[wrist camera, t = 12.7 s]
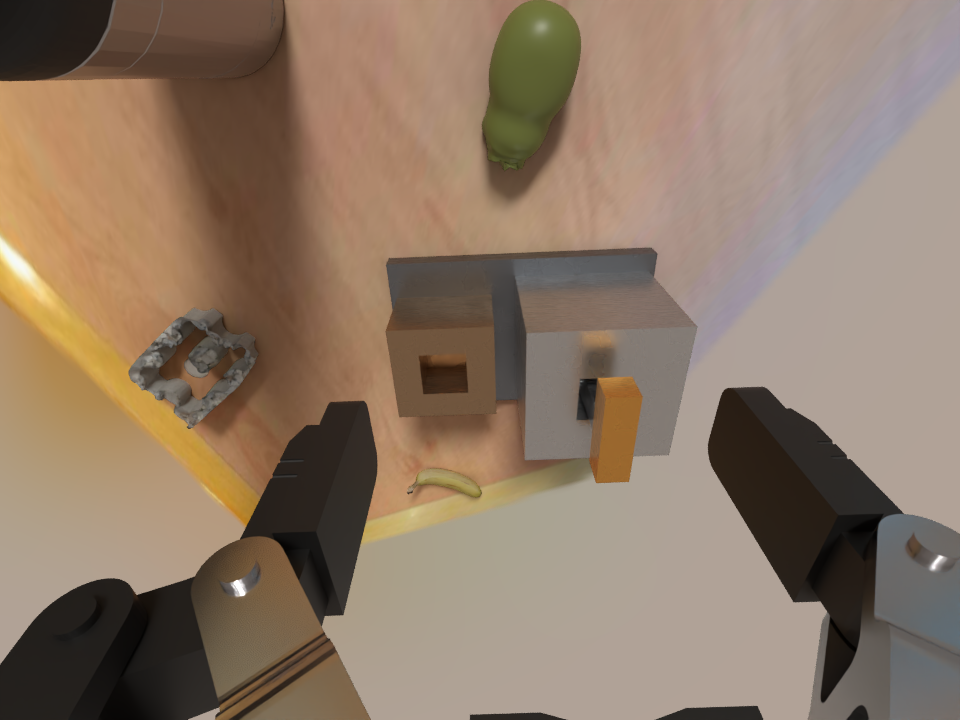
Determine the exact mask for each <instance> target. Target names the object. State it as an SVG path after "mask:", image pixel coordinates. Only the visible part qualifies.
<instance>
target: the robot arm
mask: <svg viewBox="0 0 960 720" xmlns="http://www.w3.org/2000/svg"><path fill="white" fill-rule="evenodd" d="M283 17H284V7H283V0H0V81H35V80H93V79H166V78H235V77H242V76H245V75H248V74H252V73H253V72H255V71H256V70H258V69H259V68H261V67H263V66H264V64H265V63H266V62H267V61H268V60H269V59H270V58H271V57H272V55H273V53H274V51H275V49H276V47H277V46H278V44H279V40H280V37H281V33H282V29H283ZM708 454H709V460H710V463H711V466H712V468H713V470H714V472H715V473H716V475H717V476H718V478H719V480H720V481H721V483H722V485H723V486H724V488H725V490H726V491H727V493H728V495H729V496H730V498H731V500H732V501H733V503H734V504H735V506H736V508H737V509H738V511H739V513H740V514H741V516H742V518H743V519H744V521H745V523H746V524H747V526H748V528H749V529H750V531H751V533H752V534H753V535H754V538H755V539H756V541H757V542H758V544H759V546H760V547H761V549H762V551H763V552H764V554H765V556H766V557H767V559H768V561H769V562H770V564H771V566H772V567H773V569H774V571H775V572H776V574H777V575H778V577H779V579H780V580H781V582H782V584H783V585H784V587H785V589H786V590H787V592H788V594H789V595H790V597H791V599H792V600H793V602H817V601H821V603H822V604H823V606H824V607H825V609H826V610H827V614H826V615H825V617H824V619H823V621H822V625H821V633H820V640H819V647H818V655H817V662H816V670H815V678H814V685H813V692H812V700H811V707H810V713H809V717H808V720H960V534H959V533H957V532H956V531H954V530H952V529H950V528H949V527H946V526H944V525H942V524H940V523H937V522H935V521H933V520H930V519H927V518H923V517H919V516H915V515H908V514H904V513H902V511H901V510H900V509H899V508H898V507H897V506H896V505H895V504H894V503H893V502H892V501H891V500H890V499H889V498H888V497H887V496H886V495H885V494H884V493H883V492H882V491H881V490H880V489H879V488H878V487H877V486H876V485H875V484H874V483H873V482H872V481H871V480H870V479H869V478H868V477H867V476H866V475H865V473H863V471H861V470H860V468H859V467H858V466H856V464H855V463H854V462H853V461H852V460H851V459H847V455H846V454H845V453H844V452H843V451H842V450H841V449H840V448H839V447H838V446H837V445H836V444H833V443H832V440H831V439H830V438H829V437H828V436H827V435H826V434H825V433H824V432H823V431H822V430H821V429H820V428H819V427H818V426H817V424H815V423H814V422H812V421H811V420H809V419H807V418H806V417H804V416H803V415H801V414H799V413H797V412H796V411H794V410H793V409H791V408H790V409H786V408H785V407H784V406H783V405H782V404H781V403H780V402H779V400H778V399H777V398H776V397H775V396H774V395H773V394H772V393H771V392H770V391H769V390H768V389H767V388H765V387H744V388H727V389H725V390H724V392H723V393H722V395H721V398H720V401H719V405H718V409H717V412H716V416H715V420H714V424H713V427H712V431H711V434H710V438H709V443H708ZM376 477H377V452H376V447H375V442H374V437H373V432H372V427H371V422H370V417H369V412H368V408H367V404H366V403H365V401H348V402H331V403H329V405H328V406H327V409H326V411H325V413H324V415H323V418H322V420H321V422H320V425H307V426H305V427H304V428H303V429H302V430H301V431H300V432H299V433H298V434H297V435H296V436H295V437H294V438H293V439H291V440H290V441H289V443H288V445H287V447H286V449H285V451H284V453H283V455H282V457H281V459H280V463H278V465H277V467H276V469H275V471H274V473H273V478H272V479H270V481H269V483H268V485H267V487H266V489H265V491H264V493H263V495H262V497H261V499H260V501H259V503H258V505H257V507H256V509H255V511H254V513H253V515H252V517H251V519H250V521H249V523H248V525H247V527H246V529H245V531H244V533H243V535H242V537H241V538H240V540H237V541H235V542H232V543H230V544H228V545H227V546H225V547H223V548H221V549H220V550H218V551H217V552H216V553H214V554H213V555H212V556H211V557H210V558H209V559H208V560H207V561H206V562H205V563H204V564H203V565H202V566H201V568H200V569H199V571H198V572H197V574H196V576H195V577H192V578H190V579H187V580H184V581H181V582H177V583H174V584H171V585H168V586H165V587H162V588H158V589H155V590H152V591H149V592H145V593H142V594H139V595H136V594H135V592H134V591H133V589H132V588H131V587H130V585H129V584H128V583H126V582H125V581H122V580H120V579H114V578H113V579H101V580H96V581H93V582H89V583H87V584H84V585H82V586H79V587H77V588H75V589H73V590H71V591H70V592H68V593H66V594H65V595H63V596H61V597H60V598H58V599H57V600H56V601H54V602H53V603H52V604H50V605H49V606H48V607H47V608H46V609H45V610H43V611H42V612H41V613H40V614H39V615H38V616H37V617H36V619H35V620H34V621H33V622H32V623H31V625H30V626H29V627H28V628H27V630H26V631H25V632H24V634H23V635H22V636H21V638H20V639H19V640H18V642H17V643H16V644H15V646H14V647H13V649H12V650H11V651H10V652H9V654H8V655H7V656H6V658H5V659H4V660H3V662H2V663H1V665H0V720H188V719H190V718H193V717H195V716H198V715H200V714H203V713H205V712H208V711H210V710H213V709H216V708H219V707H220V712H219V713H217V714H216V718H215V720H371V719H370V717H369V715H368V713H367V711H366V709H365V707H364V705H363V703H362V701H361V699H360V697H359V695H358V693H357V691H356V689H355V687H354V685H353V683H352V681H351V679H350V677H349V675H348V673H347V671H346V669H345V667H344V665H343V663H342V661H341V659H340V657H339V655H338V653H337V651H336V649H335V647H334V645H333V643H332V642H331V641H330V639H328V638H327V637H326V635H325V633H324V631H323V629H322V623H323V620H324V616H332V615H343V614H344V610H345V606H346V602H347V598H348V594H349V590H350V585H351V581H352V577H353V573H354V569H355V564H356V560H357V556H358V552H359V548H360V544H361V540H362V536H363V532H364V527H365V523H366V519H367V515H368V511H369V507H370V503H371V499H372V494H373V490H374V486H375V482H376ZM470 720H566V719H562V718H558V717H555V716H551V715H547V714H543V713H515V714H514V713H512V714H482V715H470ZM656 720H763V718H762V715H761V713H760V711H759V709H758V706H739V707H709V708H708V707H707V708H685V709H683V710H680V711H677V712H675V713H672V714H669V715H667V716H664V717H662V718H659V719H656Z"/></svg>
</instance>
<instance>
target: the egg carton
mask: <svg viewBox="0 0 960 720" xmlns="http://www.w3.org/2000/svg"><path fill="white" fill-rule="evenodd" d="M222 317H223V315H222V314H221V313H220V312H218V311H217V310H216V309H214V308H212V309H210V310H208V311H202V310H199V309H196V308H193V309H192V310H191V311H189V312H188V313H187V314H186V315H185V316H184V317H180V318H178V319H176V320H175V321H174V322H173V323H172V324H171V325H170V326H169V327H168V328H167V329H166V330H165V331H164V332H163V333H162V334H161V335H160V336H159V337H158V338H157V339H156V340H155V341H154V342H153V343H152V344H151V346H150V347H149V348H148V349H147V350H146V351H145V352H144V353H143V354H142V355H141V356H140V357H139V358H138V359H137V360H136V362H135V363H134V364H133V365H132V366H131V368H130V369H129V376H130V379H131V381H133V382H134V383H136V384H138V386H139V387H140V388H141V390H147V391H149V392H151V393H152V394H153V395H154V396H155V399H157V400H163V399H164V398H165V399H167V400H168V401H170V402H172V403H173V404H175V405H176V406H175V409H174V413H175V414H176V415H177V416H178V417H179V418H181V419H182V420H185V421H186V422H187V423H188V424H189V425H188V426H187V428H188V429H191V428H193V427H194V426H195V425H196V424H197V423H198V422H200V421H201V420H202V419H203V418H204V417H205V416H206V415H207V414H208V413H209V412H211V411H212V410H213V409H214V408H215V407H216V406H217V405H218V404H219V403H221V402H222V401H223V400H224V399H225V398H226V397H227V396H228V395H229V394H231V393H232V392H233V391H234V390H235V389H236V388H237V387H238V386H239V385H240V384H241V382H242V381H243V380H244V378H245V377H246V375H247V374H248V372H249V371H250V369H251V368H252V366H253V365H254V364H255V363H256V362H255V360H256V359H257V358H256V357H257V356H258V354H259V353H258V352H257V351H256V349H255V347H254V342H255V338H254V337H253V336H252V335H250V334H249V333H248V332H245V333H243V334H241V335H235V334H232V333H229V332H228V331H227V330H226V329H225V328H224V326H223V324H222ZM195 326H196V327H197V328H199V329H200V330H206V334H207V335H209V336H207V337H205V338H204V339H203V340H202V341H201V342H200V343H199V344H198V345H197V346H196V347H194V348H193V350H192V352H191V353H190V354H189V355H188V357H189V359H187V360H186V361H185V363H184V367H185V370H186V371H187V372H188V373H189V374H190V375H192V376H193V377H199V378H202V377H205V376H207V375H208V373H209V370H210V369H211V368H212V367H214V366H216V365H217V364H218V363H219V362H220V361H221V359H222V358H223V357H224V356H225V355H226V353H227V352H228V348H229V347H231V348H232V350H236V349H238V348H239V347H242V348H244V349H245V350H246V352H245V355H244V358H240V359H238V360H237V361H236V362H235V363H234V364H233V365H232V366H231V368H230V369H229V370H228V371H227V372H226V373H225V374H224V375H223V377H226V379H221V380H219V381H218V382H217V383H216V384H215V385H214V386H213V387H212V389H211V390H210V391H209V392H208V393H207V395H206V396H205V397H203V398H202V400H197V399H196V398H194V397H193V396H192V395H191V391H192V390H191V387H190V385H189V384H188V383H187V382H186V381H184V380H182V379H179V378H173V379H170V380H166V379H165V378H163V377H162V376H160V375H159V367H161V366H162V365H164V364H165V363H166V362H167V361H168V360H169V359H170V358H171V357H172V356H173V355H174V354H175V352H176V349H177V348H176V346H177V345H179V344H181V343H182V341H183V340H184V339H185V338H186V337H188V336H189V335H190V334H191V333H192V332H193V331H194V330H195Z"/></svg>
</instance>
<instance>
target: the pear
mask: <svg viewBox="0 0 960 720" xmlns="http://www.w3.org/2000/svg"><path fill="white" fill-rule="evenodd" d="M580 53H581V37H580V31H579V28H578V25H577V23H576V21H575V20H574V18H573V17H572V15H571V14H570V13H569V12H568V11H567V10H566V9H564V8H563V7H562V6H560V5H558V4H556V3H554V2H551V1H546V0H532V1H528V2H525V3H523V4H521V5H520V6H518V7H517V8H516V9H515V10H514V11H513V12H512V13H511V14H510V15H509V16H508V18H507V19H506V21H505V23H504V24H503V26H502V28H501V31H500V33H499V35H498V38H497V41H496V44H495V47H494V50H493V54H492V58H491V63H490V69H489V90H490V98H489V103H488V107H487V111H486V115H485V117H484V119H483V122H482V130H483V133H484V135H485V139H486V144H487V149H488V160H490V161H493V162H499V163H500V164H501V166H502V168H503V170H504V171H506V170H507V169H508V168H512V169H514V170H516V171H517V170H519V169H522V168H523V166H524V163H525V160H526V159H527V158H529V157H531V156H532V155H533V154H534V153H535V152H536V151H537V150H538V149H539V147H540V146H541V145H542V143H543V141H544V139H545V137H546V134H547V131H548V128H549V126H550V123H551V121H552V119H553V117H554V116H555V115H556V114H557V113H558V112H559V111H560V109H561V108H562V107H563V105H564V104H565V102H566V100H567V99H568V97H569V94H570V92H571V90H572V87H573V84H574V81H575V78H576V74H577V70H578V66H579V60H580ZM505 163H507V164H506V167H505Z"/></svg>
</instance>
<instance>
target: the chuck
mask: <svg viewBox="0 0 960 720" xmlns="http://www.w3.org/2000/svg"><path fill="white" fill-rule="evenodd" d="M656 259H657V253H656V252H655V251H654V250H653V249H652V248H632V249H607V250H583V251H558V252H534V253H509V254H485V255H460V256H436V257H412V258H389V260H388V262H387V264H386V267H387V273H388V280H389V287H390V294H391V301H392V308H393V312H392V314H391V317H390V320H389V323H388V326H387V329H386V336H387V343H388V349H389V355H390V361H391V368H392V374H393V380H394V386H395V393H396V399H397V405H398V412H399V417H418V416H445V415H472V414H496V400H516V399H517V404H518V412H519V419H520V427H521V434H522V442H523V450H524V457H525V460H545V459H572V458H590V448H591V438H592V427H591V424H590V421H589V418H588V415H587V412H586V409H585V406H584V403H583V400H582V397H581V394H580V391H579V383H580V379H589V378H609V377H633V379H634V381H635V383H636V385H637V387H638V388H639V390H640V392H641V394H642V396H643V399H642V405H641V411H640V417H639V423H638V429H637V435H636V442H635V448H634V454H633V456H655V455H669V452H670V447H671V443H672V439H673V434H674V430H675V425H676V421H677V416H678V412H679V407H680V403H681V398H682V394H683V389H684V385H685V380H686V376H687V371H688V367H689V362H690V358H691V353H692V349H693V344H694V340H695V335H696V331H697V326H696V324H695V323H694V322H693V321H692V320H691V319H690V318H689V317H688V315H687V314H686V313H685V312H684V311H683V310H682V309H681V308H680V306H679V305H678V304H677V303H676V302H675V301H674V300H673V298H672V297H671V296H670V295H669V294H668V293H667V292H666V291H665V289H664V288H663V287H662V286H661V285H660V284H659V283H658V282H657V280H656V279H655V278H654V272H655V265H656Z"/></svg>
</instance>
